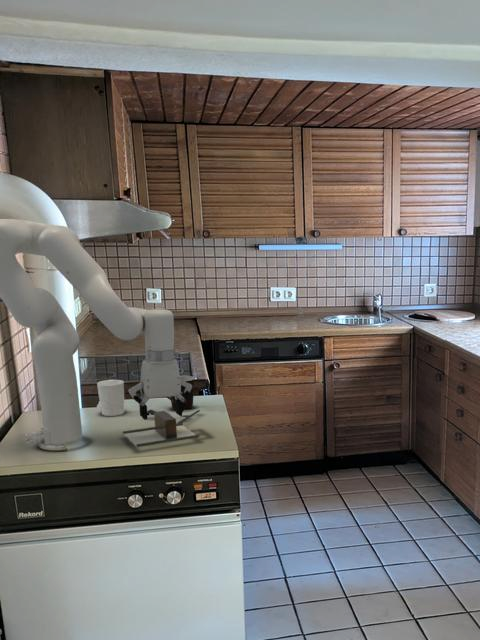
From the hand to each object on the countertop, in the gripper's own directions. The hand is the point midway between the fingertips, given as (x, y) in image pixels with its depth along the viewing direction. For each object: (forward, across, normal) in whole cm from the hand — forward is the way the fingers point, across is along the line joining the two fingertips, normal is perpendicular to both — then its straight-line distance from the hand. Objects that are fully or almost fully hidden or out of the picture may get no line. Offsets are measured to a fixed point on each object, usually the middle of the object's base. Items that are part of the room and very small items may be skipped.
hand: (162, 416), depth 193 cm
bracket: (+7, -8, -19) cm, 21 cm away
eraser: (+5, -1, 0) cm, 5 cm away
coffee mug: (+7, -15, -31) cm, 35 cm away
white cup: (+7, +5, -35) cm, 36 cm away
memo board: (+7, +1, 0) cm, 7 cm away
